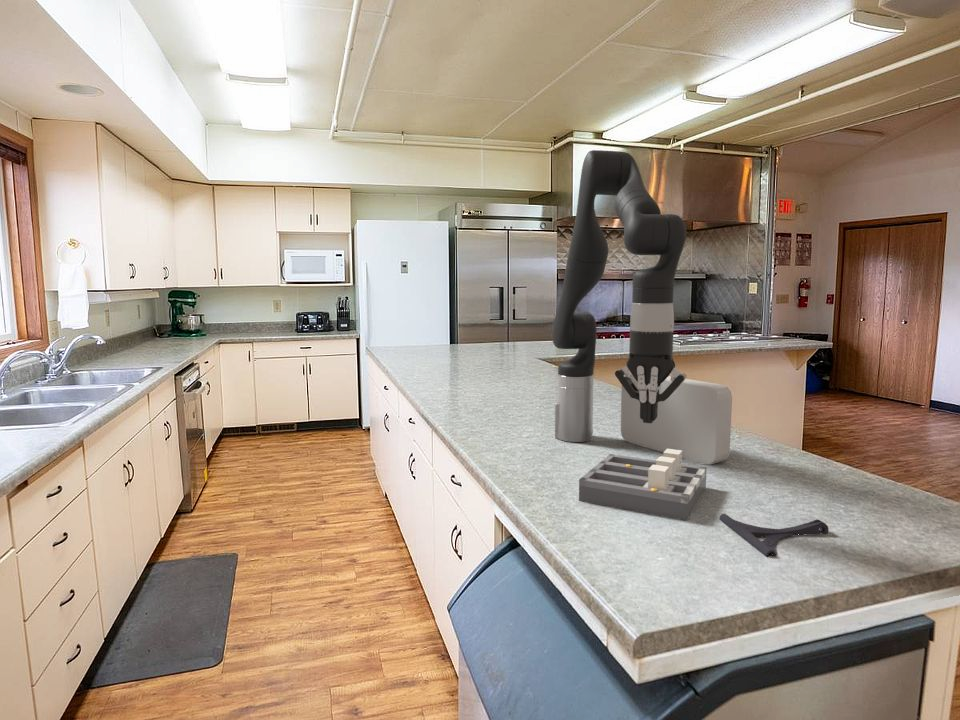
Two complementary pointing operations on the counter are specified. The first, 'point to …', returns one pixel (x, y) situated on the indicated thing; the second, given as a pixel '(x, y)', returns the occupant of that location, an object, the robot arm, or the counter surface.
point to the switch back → (678, 456)
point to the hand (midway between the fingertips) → (648, 422)
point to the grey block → (683, 421)
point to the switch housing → (641, 487)
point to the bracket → (771, 533)
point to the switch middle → (671, 464)
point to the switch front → (659, 478)
